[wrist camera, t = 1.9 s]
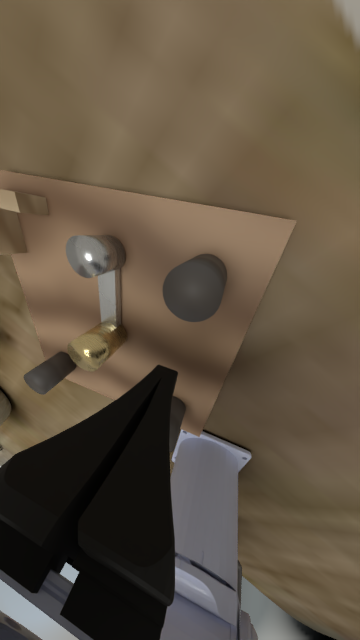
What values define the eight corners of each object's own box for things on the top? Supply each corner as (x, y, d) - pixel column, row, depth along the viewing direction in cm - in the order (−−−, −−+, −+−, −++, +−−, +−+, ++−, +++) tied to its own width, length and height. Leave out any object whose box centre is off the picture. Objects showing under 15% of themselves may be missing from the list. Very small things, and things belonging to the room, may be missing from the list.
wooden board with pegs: (202, 423, 19) (191, 478, 15) (60, 363, 23) (18, 393, 18) (288, 222, 9) (332, 213, 5) (8, 173, 13) (-109, 143, 8)
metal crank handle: (93, 231, 11) (40, 230, 8) (128, 239, 10) (85, 241, 7) (102, 339, 15) (70, 364, 12) (127, 348, 15) (100, 376, 12)
